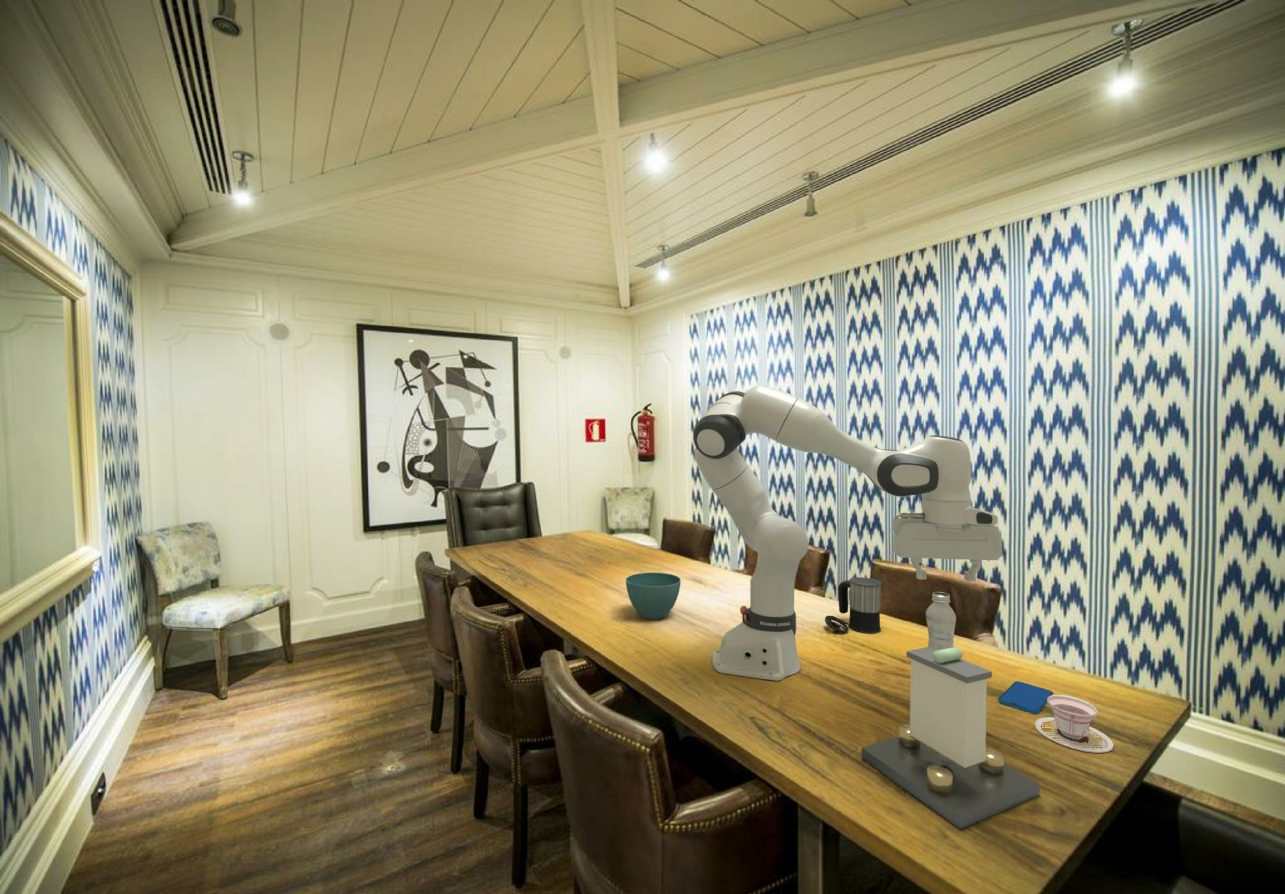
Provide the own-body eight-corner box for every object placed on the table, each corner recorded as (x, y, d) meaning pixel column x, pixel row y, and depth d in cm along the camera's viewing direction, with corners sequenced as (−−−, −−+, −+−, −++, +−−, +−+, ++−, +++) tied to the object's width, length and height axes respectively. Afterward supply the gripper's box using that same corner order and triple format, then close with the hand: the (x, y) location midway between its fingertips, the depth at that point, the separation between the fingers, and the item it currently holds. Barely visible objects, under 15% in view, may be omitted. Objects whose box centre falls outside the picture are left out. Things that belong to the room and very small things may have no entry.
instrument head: (965, 787, 84) (967, 665, 84) (905, 748, 95) (906, 640, 95) (990, 778, 87) (992, 659, 87) (928, 741, 97) (930, 635, 97)
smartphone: (1054, 691, 120) (1037, 712, 111) (1054, 695, 120) (1037, 717, 111) (1015, 680, 126) (996, 699, 116) (1015, 684, 126) (996, 703, 116)
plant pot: (623, 607, 182) (623, 572, 182) (675, 606, 184) (675, 571, 184) (628, 626, 164) (628, 587, 164) (685, 624, 166) (685, 585, 166)
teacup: (1036, 713, 112) (1036, 685, 111) (1111, 733, 104) (1111, 702, 104) (1033, 739, 102) (1033, 707, 102) (1115, 762, 95) (1116, 728, 95)
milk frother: (885, 628, 162) (885, 580, 162) (867, 642, 151) (868, 591, 150) (839, 617, 172) (840, 572, 172) (819, 630, 160) (819, 582, 160)
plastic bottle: (961, 681, 126) (961, 598, 126) (930, 678, 128) (930, 597, 127) (950, 669, 133) (951, 591, 132) (921, 667, 134) (922, 589, 134)
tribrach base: (960, 829, 78) (960, 800, 78) (861, 758, 96) (861, 734, 96) (1039, 795, 86) (1039, 768, 86) (934, 735, 103) (934, 713, 103)
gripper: (898, 514, 107) (897, 582, 107) (1006, 516, 104) (1006, 585, 105) (888, 510, 113) (887, 574, 114) (990, 512, 111) (989, 577, 111)
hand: (945, 579), depth 109 cm, fingers open, 8 cm apart
